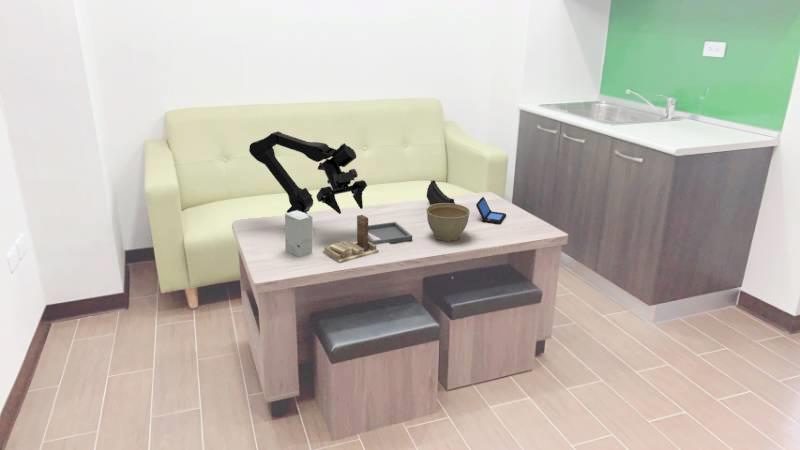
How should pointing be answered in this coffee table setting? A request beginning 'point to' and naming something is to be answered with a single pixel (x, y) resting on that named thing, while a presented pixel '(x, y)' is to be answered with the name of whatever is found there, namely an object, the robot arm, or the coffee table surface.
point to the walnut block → (362, 232)
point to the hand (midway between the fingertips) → (351, 210)
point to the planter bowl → (447, 220)
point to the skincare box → (298, 233)
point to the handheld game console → (489, 213)
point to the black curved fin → (437, 195)
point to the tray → (388, 233)
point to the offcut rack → (356, 251)
